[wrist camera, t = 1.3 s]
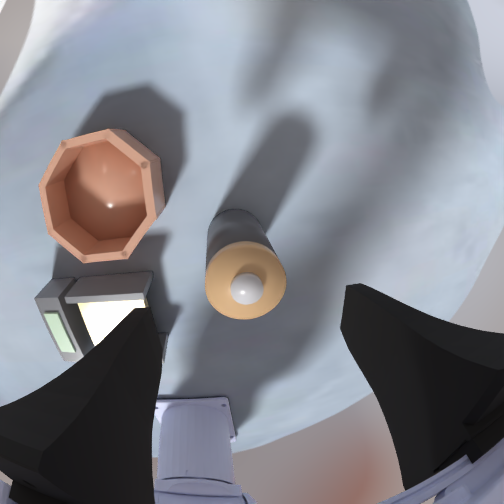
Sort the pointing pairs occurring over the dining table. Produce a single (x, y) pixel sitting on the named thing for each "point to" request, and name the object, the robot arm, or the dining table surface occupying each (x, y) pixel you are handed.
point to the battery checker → (86, 291)
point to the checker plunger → (106, 315)
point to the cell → (242, 267)
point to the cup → (102, 194)
